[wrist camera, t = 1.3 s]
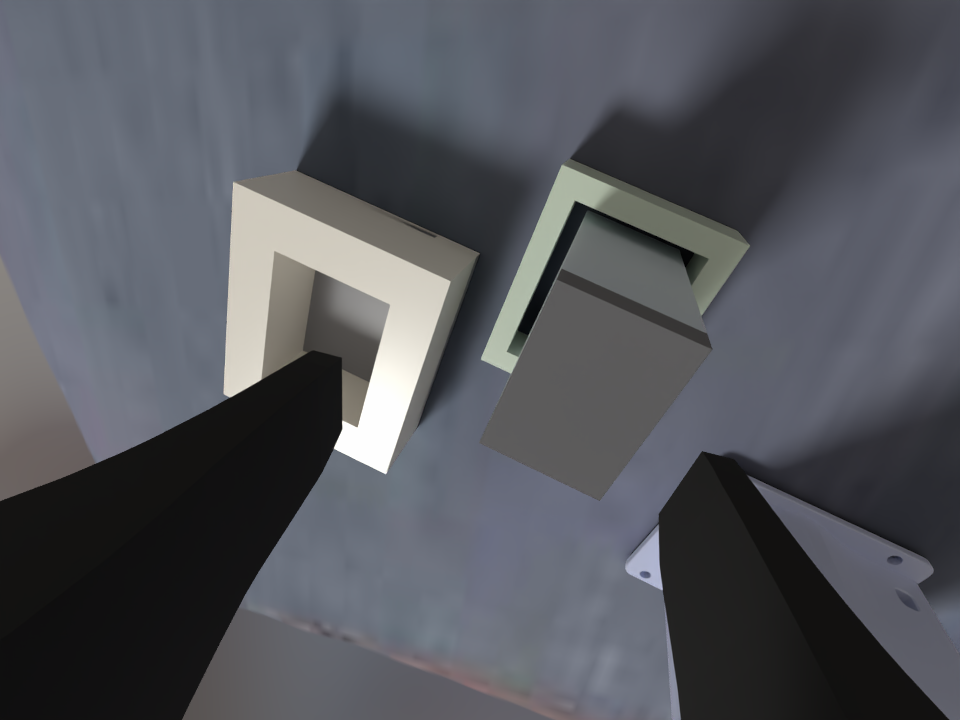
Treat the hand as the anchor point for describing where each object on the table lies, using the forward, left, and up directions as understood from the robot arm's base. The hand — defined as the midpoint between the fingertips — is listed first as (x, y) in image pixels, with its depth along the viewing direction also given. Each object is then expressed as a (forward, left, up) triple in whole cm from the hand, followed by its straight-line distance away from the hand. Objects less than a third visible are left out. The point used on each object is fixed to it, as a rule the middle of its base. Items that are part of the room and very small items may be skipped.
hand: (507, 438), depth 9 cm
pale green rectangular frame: (-1, 0, -10) cm, 10 cm away
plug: (-1, 0, -10) cm, 10 cm away
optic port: (+8, +5, -10) cm, 14 cm away
